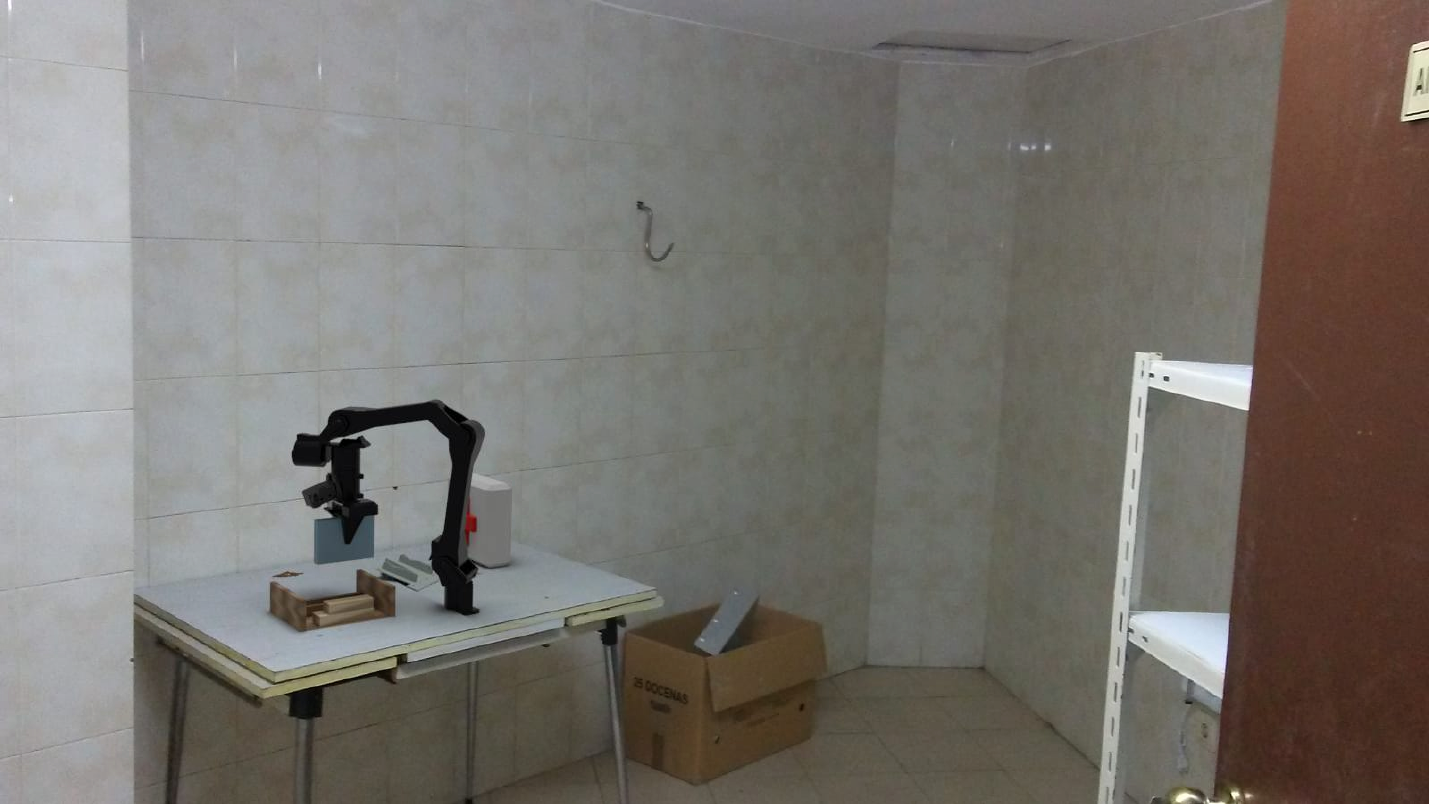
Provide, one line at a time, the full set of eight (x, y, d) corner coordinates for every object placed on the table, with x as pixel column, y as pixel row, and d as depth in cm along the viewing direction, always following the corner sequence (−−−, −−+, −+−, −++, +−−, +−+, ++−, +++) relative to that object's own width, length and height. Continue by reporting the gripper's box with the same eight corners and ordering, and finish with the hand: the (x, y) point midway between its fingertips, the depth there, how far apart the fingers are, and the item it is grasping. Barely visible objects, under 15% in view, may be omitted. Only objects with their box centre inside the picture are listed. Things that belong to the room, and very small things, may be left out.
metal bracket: (368, 561, 257) (403, 547, 272) (361, 585, 258) (396, 569, 273) (425, 585, 254) (456, 569, 269) (417, 610, 255) (450, 592, 270)
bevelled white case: (440, 552, 291) (442, 472, 289) (469, 548, 296) (471, 470, 294) (482, 570, 275) (484, 486, 273) (512, 566, 280) (514, 483, 278)
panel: (373, 557, 245) (374, 515, 244) (317, 564, 237) (318, 521, 236) (369, 555, 247) (370, 513, 246) (314, 562, 239) (314, 519, 238)
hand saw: (231, 602, 243) (231, 599, 243) (213, 599, 244) (213, 596, 244) (305, 575, 266) (306, 572, 266) (289, 572, 267) (289, 570, 267)
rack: (395, 620, 233) (395, 586, 233) (301, 636, 221) (301, 600, 220) (360, 601, 245) (361, 569, 245) (269, 616, 233) (269, 581, 232)
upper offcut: (373, 607, 231) (373, 597, 231) (329, 614, 225) (329, 604, 225) (367, 604, 234) (367, 594, 233) (323, 611, 228) (323, 601, 227)
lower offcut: (374, 617, 231) (374, 608, 231) (319, 627, 224) (319, 616, 224) (366, 613, 234) (366, 603, 234) (312, 622, 227) (312, 612, 227)
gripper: (289, 464, 242) (289, 539, 243) (325, 478, 228) (325, 557, 229) (341, 460, 249) (340, 532, 251) (379, 474, 235) (379, 550, 237)
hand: (345, 543), depth 242 cm, fingers closed on panel, 2 cm apart
